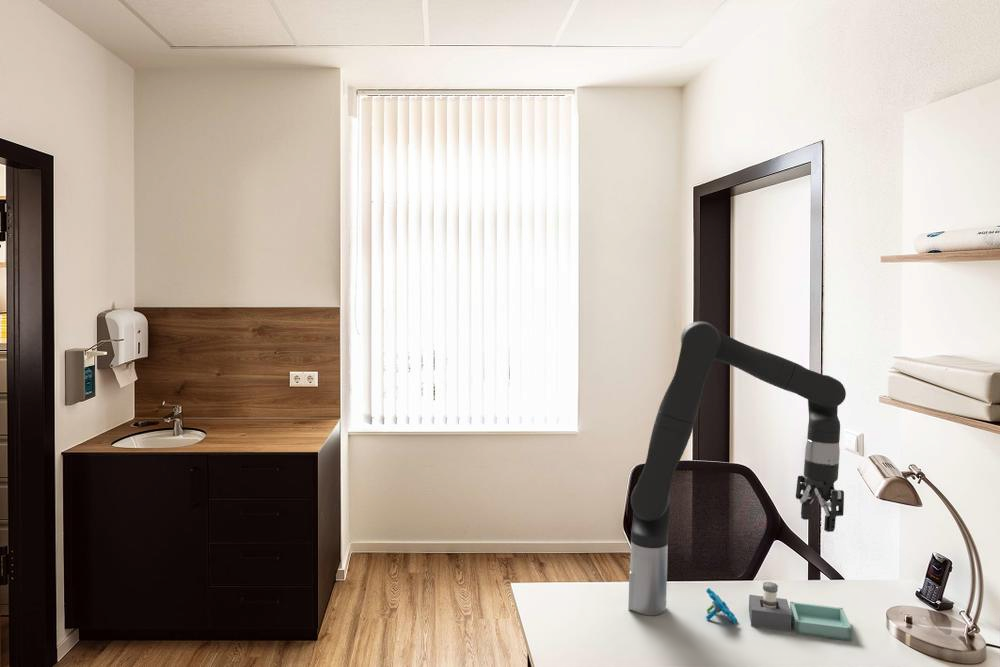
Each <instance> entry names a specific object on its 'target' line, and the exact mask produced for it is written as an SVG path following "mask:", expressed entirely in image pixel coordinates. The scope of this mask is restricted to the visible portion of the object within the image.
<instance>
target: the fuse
mask: <svg viewBox="0 0 1000 667" xmlns="http://www.w3.org/2000/svg"><path fill="white" fill-rule="evenodd" d="M778 586H779V585H778V584H777V583H776V582H775V583H774V582H771V581H765V582H763V583H762V590H763V595H762V596H763V607H765V608H773V609H776V598H777V595H778V594H777V592H778V588H779V587H778Z"/></svg>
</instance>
